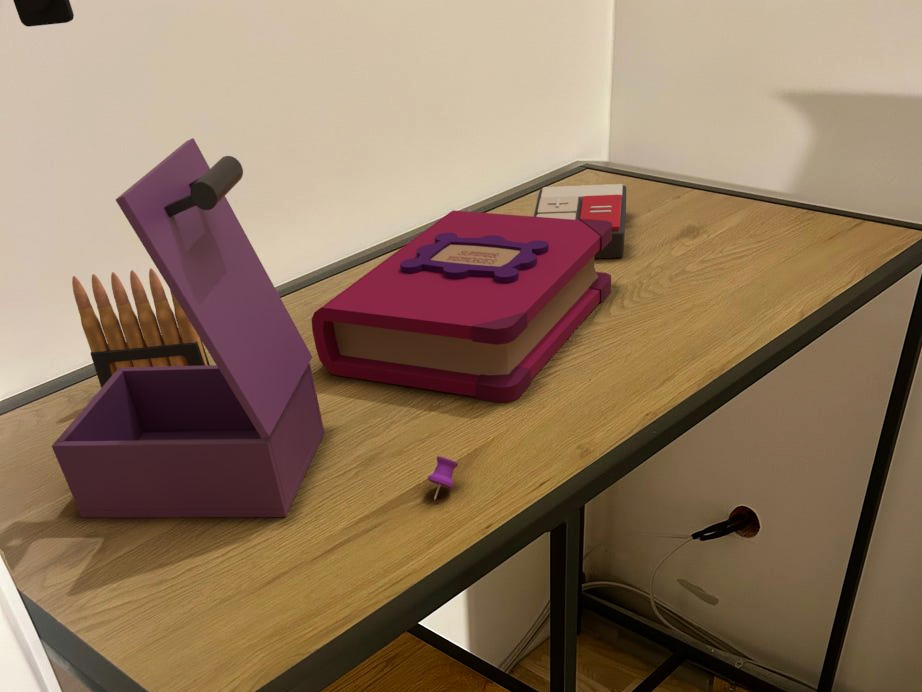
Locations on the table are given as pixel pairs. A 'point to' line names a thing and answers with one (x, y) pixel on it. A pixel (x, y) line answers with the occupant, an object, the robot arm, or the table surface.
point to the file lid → (219, 278)
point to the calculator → (588, 209)
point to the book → (467, 305)
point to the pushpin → (443, 473)
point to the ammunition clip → (136, 328)
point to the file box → (185, 447)
